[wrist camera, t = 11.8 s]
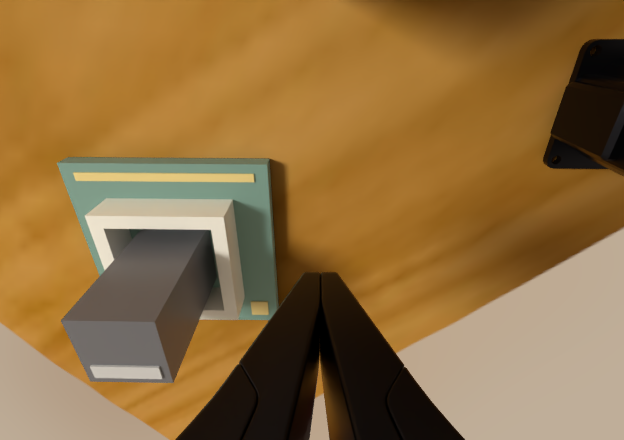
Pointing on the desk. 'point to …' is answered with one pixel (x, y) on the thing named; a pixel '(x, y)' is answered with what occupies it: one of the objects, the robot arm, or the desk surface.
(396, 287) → the desk surface
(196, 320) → the plug
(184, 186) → the board
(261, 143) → the desk surface
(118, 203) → the socket
